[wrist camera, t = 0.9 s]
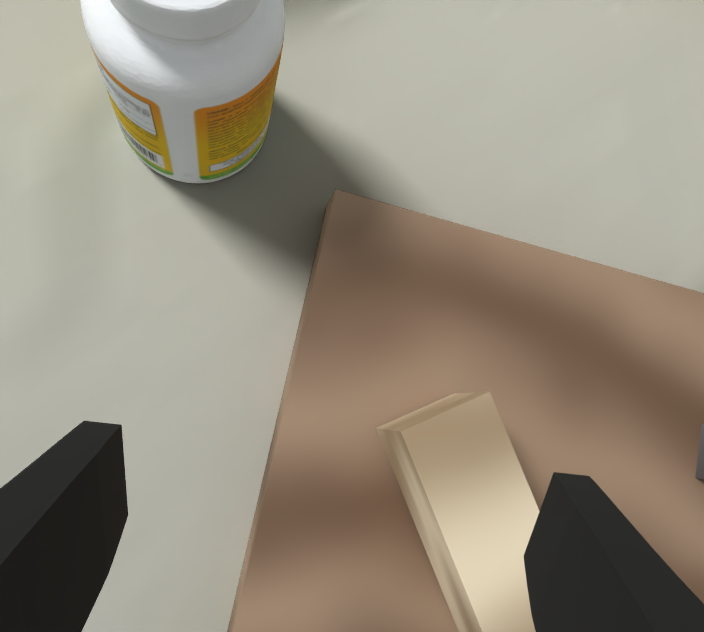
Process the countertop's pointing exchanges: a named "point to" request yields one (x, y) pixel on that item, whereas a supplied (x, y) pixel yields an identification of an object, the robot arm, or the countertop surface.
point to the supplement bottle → (189, 79)
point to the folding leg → (467, 507)
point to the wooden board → (464, 377)
